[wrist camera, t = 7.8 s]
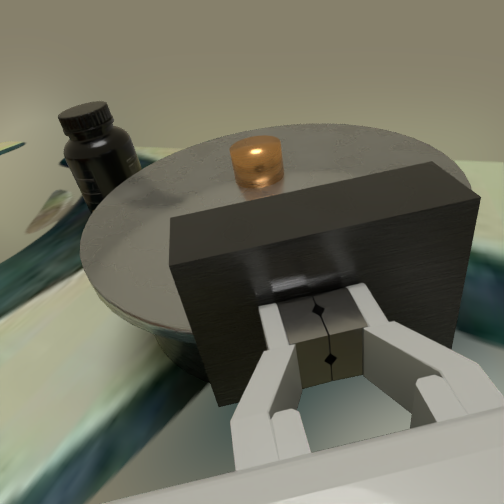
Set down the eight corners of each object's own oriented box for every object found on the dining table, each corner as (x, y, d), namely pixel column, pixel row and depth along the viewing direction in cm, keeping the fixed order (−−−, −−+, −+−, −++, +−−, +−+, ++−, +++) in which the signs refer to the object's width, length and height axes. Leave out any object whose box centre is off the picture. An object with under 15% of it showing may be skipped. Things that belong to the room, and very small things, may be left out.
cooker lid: (632, 310, 14) (723, 143, 10) (23, 452, 13) (-98, 324, 10) (371, 117, 33) (372, 34, 29) (113, 171, 32) (83, 93, 28)
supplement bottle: (128, 195, 50) (91, 96, 43) (167, 204, 46) (132, 97, 39) (83, 223, 46) (33, 118, 39) (121, 236, 42) (73, 123, 35)
